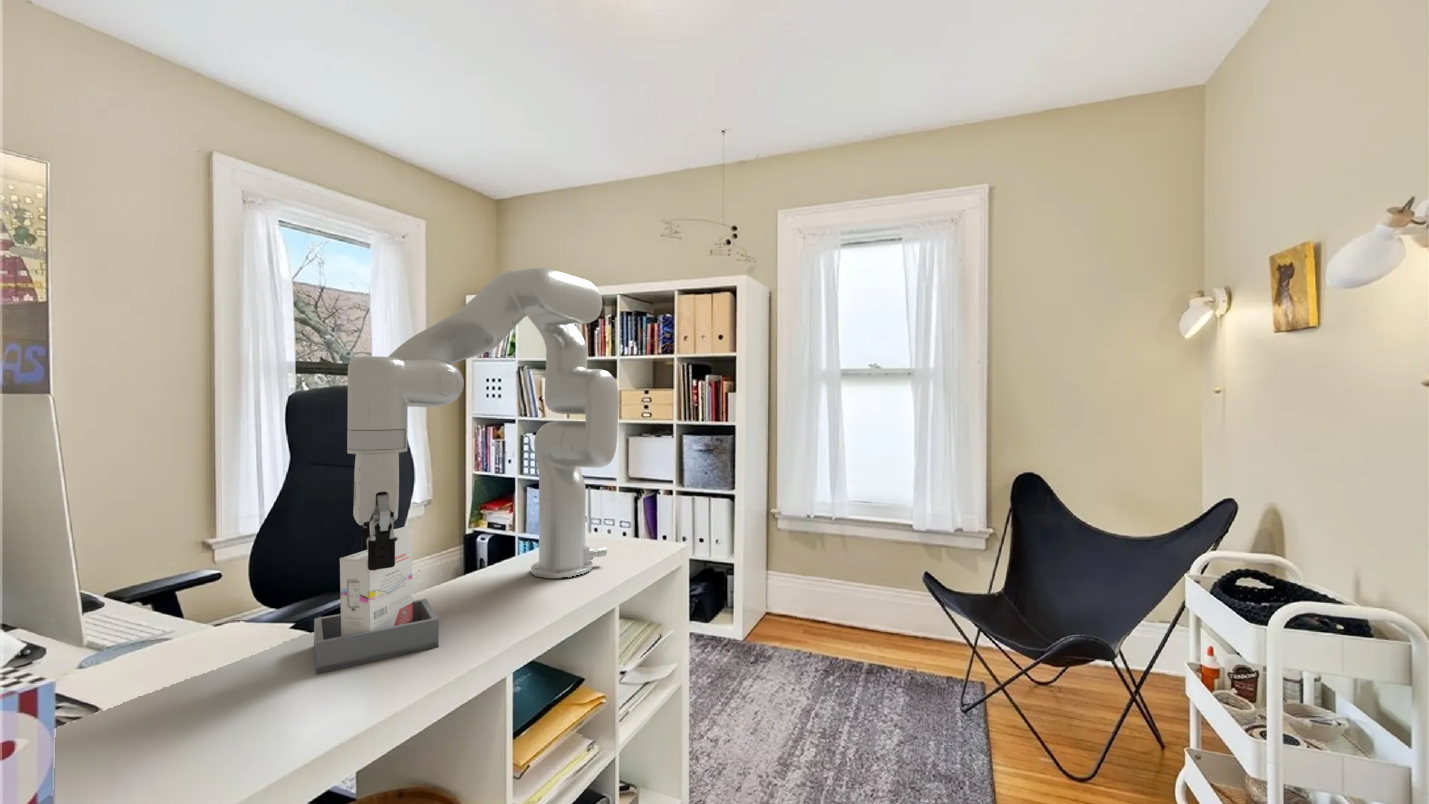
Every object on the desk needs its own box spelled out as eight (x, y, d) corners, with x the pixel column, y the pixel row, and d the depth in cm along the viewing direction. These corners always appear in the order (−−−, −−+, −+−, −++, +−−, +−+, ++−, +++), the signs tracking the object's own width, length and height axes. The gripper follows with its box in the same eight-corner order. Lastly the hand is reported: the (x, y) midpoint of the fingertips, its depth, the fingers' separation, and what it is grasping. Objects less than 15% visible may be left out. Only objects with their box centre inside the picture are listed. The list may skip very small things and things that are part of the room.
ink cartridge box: (385, 619, 88) (385, 523, 88) (413, 621, 87) (413, 524, 87) (338, 642, 79) (338, 536, 79) (368, 645, 78) (368, 537, 78)
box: (425, 623, 92) (425, 598, 92) (438, 646, 83) (438, 619, 83) (314, 646, 83) (314, 618, 83) (315, 674, 74) (316, 643, 74)
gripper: (343, 439, 88) (343, 551, 88) (352, 447, 74) (351, 580, 74) (398, 438, 92) (398, 544, 92) (416, 444, 78) (416, 570, 78)
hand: (377, 560), depth 83 cm, fingers closed on ink cartridge box, 9 cm apart
